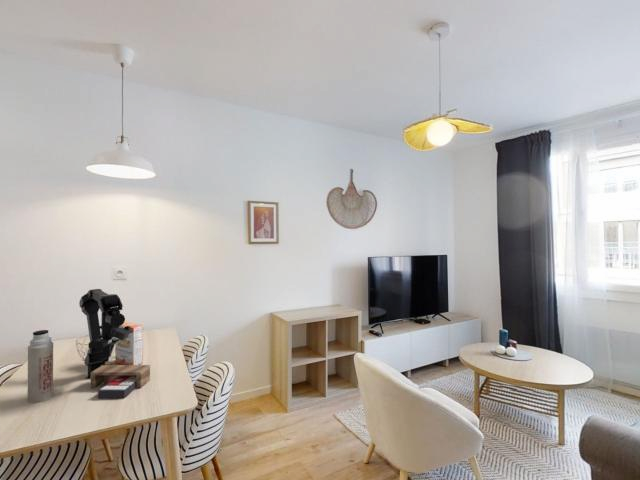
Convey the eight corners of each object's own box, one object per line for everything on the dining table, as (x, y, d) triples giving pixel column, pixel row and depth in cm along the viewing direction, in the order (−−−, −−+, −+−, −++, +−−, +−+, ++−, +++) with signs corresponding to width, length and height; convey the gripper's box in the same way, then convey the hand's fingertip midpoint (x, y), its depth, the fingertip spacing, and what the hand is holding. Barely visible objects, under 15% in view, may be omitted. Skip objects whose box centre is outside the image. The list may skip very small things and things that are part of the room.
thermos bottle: (56, 396, 133) (56, 330, 132) (31, 404, 126) (31, 335, 126) (48, 391, 137) (49, 327, 137) (24, 399, 130) (24, 332, 130)
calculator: (143, 375, 147) (124, 388, 132) (143, 384, 147) (124, 399, 132) (119, 375, 146) (97, 388, 131) (119, 384, 146) (97, 399, 131)
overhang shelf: (90, 388, 140) (90, 372, 140) (102, 380, 148) (102, 365, 148) (140, 388, 141) (140, 372, 141) (149, 380, 149) (150, 365, 149)
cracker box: (114, 363, 168) (114, 324, 168) (125, 359, 173) (125, 321, 173) (132, 367, 162) (133, 327, 162) (143, 363, 168) (143, 324, 168)
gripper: (114, 328, 134) (114, 365, 134) (138, 317, 152) (137, 349, 153) (87, 328, 133) (87, 365, 133) (114, 317, 152) (114, 349, 152)
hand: (108, 356), depth 143 cm, fingers closed
